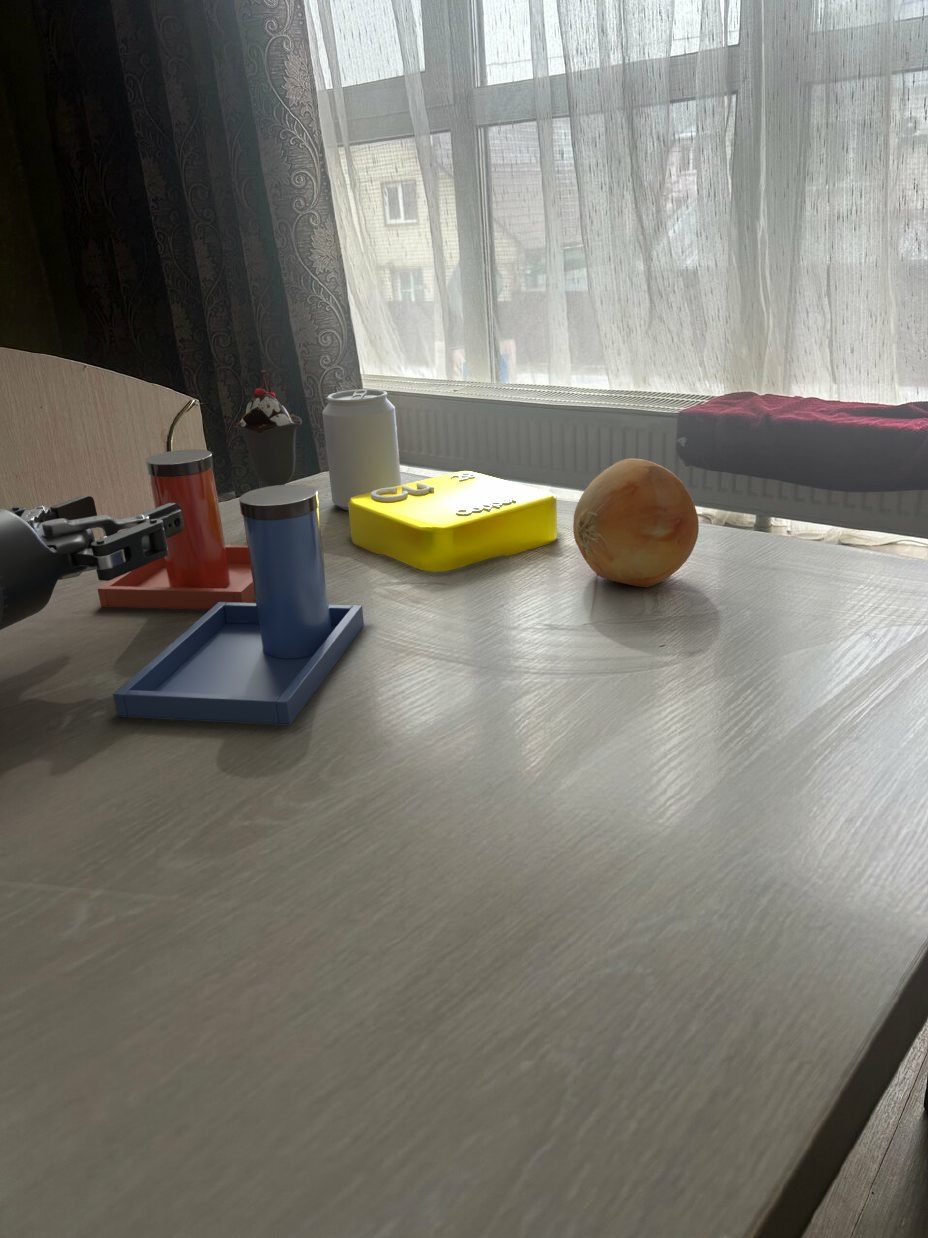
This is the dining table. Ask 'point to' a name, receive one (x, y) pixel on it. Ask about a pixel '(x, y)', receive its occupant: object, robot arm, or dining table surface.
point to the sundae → (269, 437)
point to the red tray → (154, 591)
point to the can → (360, 444)
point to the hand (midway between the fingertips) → (134, 511)
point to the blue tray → (233, 671)
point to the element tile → (453, 520)
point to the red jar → (191, 518)
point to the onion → (636, 523)
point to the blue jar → (287, 569)
